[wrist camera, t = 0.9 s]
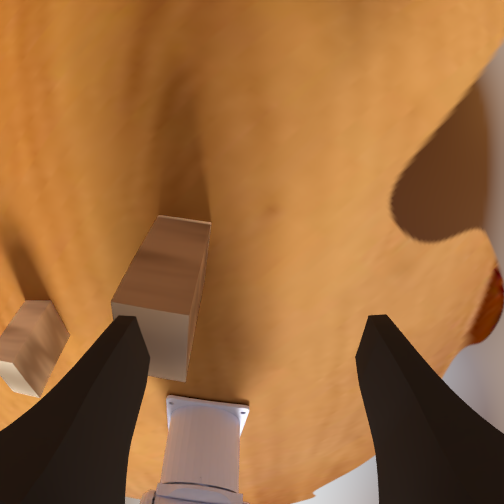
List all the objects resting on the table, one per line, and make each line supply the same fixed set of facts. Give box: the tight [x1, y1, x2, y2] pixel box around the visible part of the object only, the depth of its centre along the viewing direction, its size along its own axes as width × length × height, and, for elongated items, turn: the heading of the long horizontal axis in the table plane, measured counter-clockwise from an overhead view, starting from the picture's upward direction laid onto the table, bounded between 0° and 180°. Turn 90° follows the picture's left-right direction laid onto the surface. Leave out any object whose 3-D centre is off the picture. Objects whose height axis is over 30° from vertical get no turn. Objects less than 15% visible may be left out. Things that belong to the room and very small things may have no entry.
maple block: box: [0, 300, 70, 398], centre depth 21 cm, size 4×3×7 cm
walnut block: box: [111, 215, 211, 382], centre depth 17 cm, size 4×3×8 cm
